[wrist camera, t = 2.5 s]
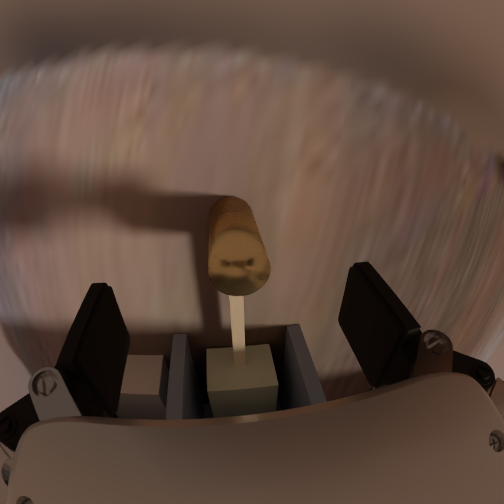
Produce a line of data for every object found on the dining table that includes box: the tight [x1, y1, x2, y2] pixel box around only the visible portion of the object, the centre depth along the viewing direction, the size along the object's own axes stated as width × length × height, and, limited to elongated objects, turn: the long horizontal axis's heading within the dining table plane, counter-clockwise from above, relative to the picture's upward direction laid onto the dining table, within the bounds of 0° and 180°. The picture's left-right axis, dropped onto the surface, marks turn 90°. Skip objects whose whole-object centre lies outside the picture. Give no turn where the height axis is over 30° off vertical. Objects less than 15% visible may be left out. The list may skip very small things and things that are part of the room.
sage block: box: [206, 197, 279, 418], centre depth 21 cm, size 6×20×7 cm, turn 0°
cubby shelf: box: [113, 324, 327, 420], centre depth 22 cm, size 22×14×14 cm, turn 90°
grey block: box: [115, 355, 169, 420], centre depth 25 cm, size 6×6×5 cm
